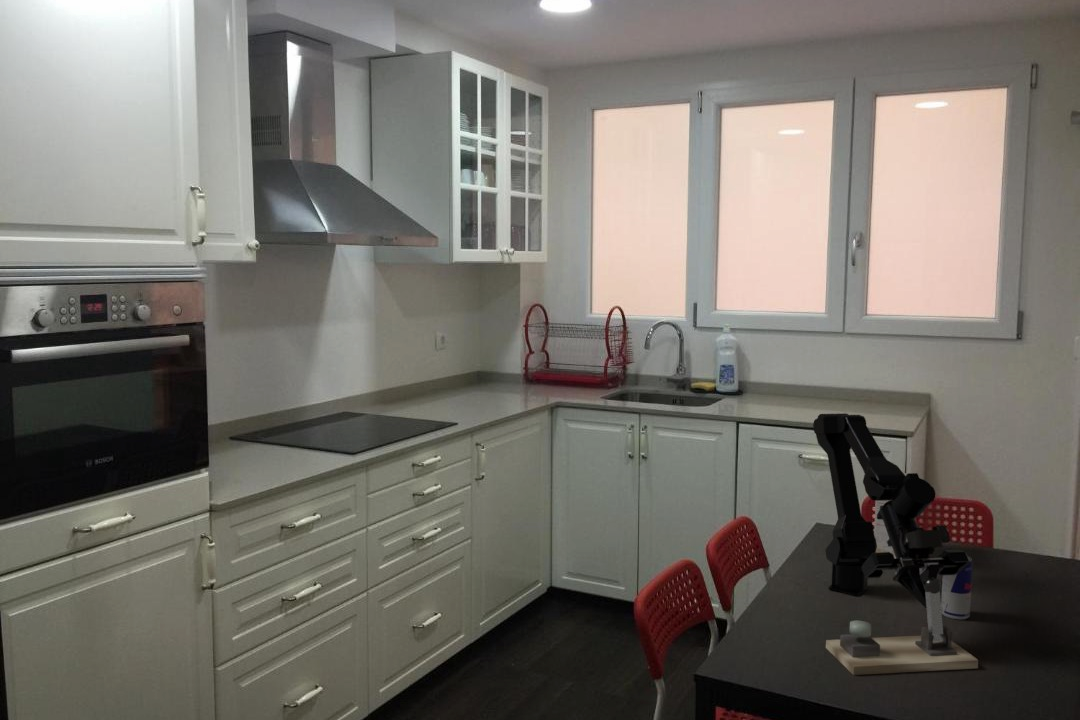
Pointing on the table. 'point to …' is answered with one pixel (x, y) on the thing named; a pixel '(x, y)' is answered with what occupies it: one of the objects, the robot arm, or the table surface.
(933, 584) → the toggle lever
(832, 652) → the switch board
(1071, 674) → the table surface
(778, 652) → the table surface
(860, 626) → the push button
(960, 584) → the energy drink
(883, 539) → the cream box
